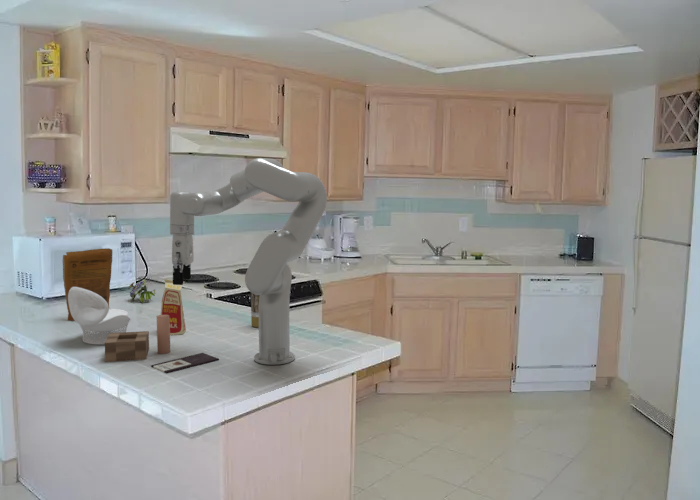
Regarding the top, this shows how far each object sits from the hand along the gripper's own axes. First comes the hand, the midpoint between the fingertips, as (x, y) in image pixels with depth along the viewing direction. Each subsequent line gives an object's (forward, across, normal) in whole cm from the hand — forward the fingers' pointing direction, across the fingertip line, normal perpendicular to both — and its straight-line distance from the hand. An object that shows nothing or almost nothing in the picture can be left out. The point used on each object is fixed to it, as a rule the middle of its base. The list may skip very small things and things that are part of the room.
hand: (181, 281), depth 199 cm
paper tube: (+22, +31, -22) cm, 44 cm away
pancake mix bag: (+25, +43, +47) cm, 69 cm away
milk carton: (+24, +22, +8) cm, 33 cm away
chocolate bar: (+23, -16, -5) cm, 28 cm away
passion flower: (+25, +78, +38) cm, 90 cm away
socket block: (+23, -7, +15) cm, 29 cm away
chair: (+24, +11, +31) cm, 40 cm away
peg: (+23, -4, +5) cm, 24 cm away
